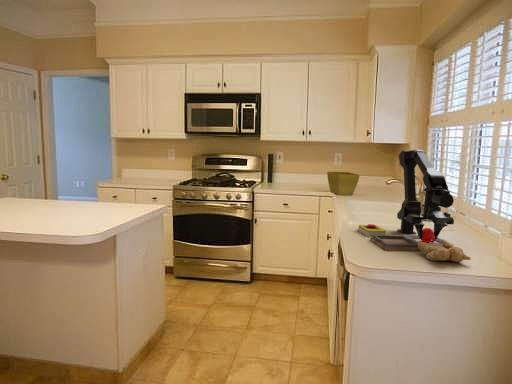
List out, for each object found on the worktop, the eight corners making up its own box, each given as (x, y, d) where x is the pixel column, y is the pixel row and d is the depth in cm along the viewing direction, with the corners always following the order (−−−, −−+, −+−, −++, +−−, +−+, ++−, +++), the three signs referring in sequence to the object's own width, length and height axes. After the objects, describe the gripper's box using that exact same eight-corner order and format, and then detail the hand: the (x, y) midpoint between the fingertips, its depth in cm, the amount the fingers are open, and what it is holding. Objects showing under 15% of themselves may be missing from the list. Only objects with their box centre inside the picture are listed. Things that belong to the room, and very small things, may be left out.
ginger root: (475, 266, 128) (471, 243, 128) (425, 271, 133) (422, 248, 133) (463, 255, 143) (460, 234, 143) (419, 259, 148) (416, 239, 148)
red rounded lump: (419, 231, 167) (416, 226, 162) (433, 229, 164) (431, 224, 160) (422, 248, 163) (419, 244, 158) (437, 246, 160) (435, 241, 156)
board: (370, 240, 162) (370, 234, 161) (403, 240, 163) (403, 235, 163) (385, 250, 147) (385, 244, 146) (421, 251, 148) (422, 245, 148)
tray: (402, 237, 168) (403, 234, 168) (433, 238, 170) (433, 235, 169) (420, 247, 154) (420, 243, 154) (453, 248, 155) (453, 244, 155)
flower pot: (358, 195, 292) (360, 174, 290) (337, 196, 287) (338, 174, 284) (345, 192, 310) (347, 172, 308) (325, 192, 304) (326, 171, 302)
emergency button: (375, 221, 181) (390, 229, 166) (374, 230, 181) (389, 239, 167) (356, 221, 179) (370, 229, 165) (355, 230, 180) (369, 239, 165)
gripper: (421, 206, 150) (416, 244, 153) (464, 207, 152) (459, 244, 155) (407, 201, 161) (403, 236, 164) (448, 202, 163) (443, 237, 165)
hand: (427, 238), depth 161 cm, fingers closed on red rounded lump, 6 cm apart
